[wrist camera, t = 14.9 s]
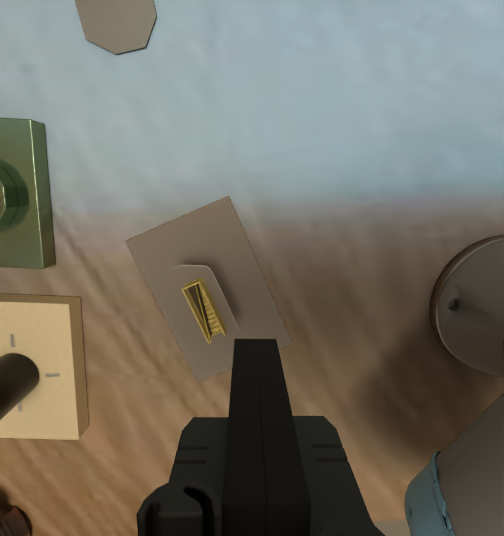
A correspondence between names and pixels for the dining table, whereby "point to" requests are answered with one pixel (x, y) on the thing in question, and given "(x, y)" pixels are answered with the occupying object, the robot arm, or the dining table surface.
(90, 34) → the flask
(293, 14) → the dining table surface
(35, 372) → the dial
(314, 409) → the dining table surface
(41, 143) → the button housing
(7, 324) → the timer panel
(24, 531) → the coiled brown leather belt
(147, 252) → the platform
